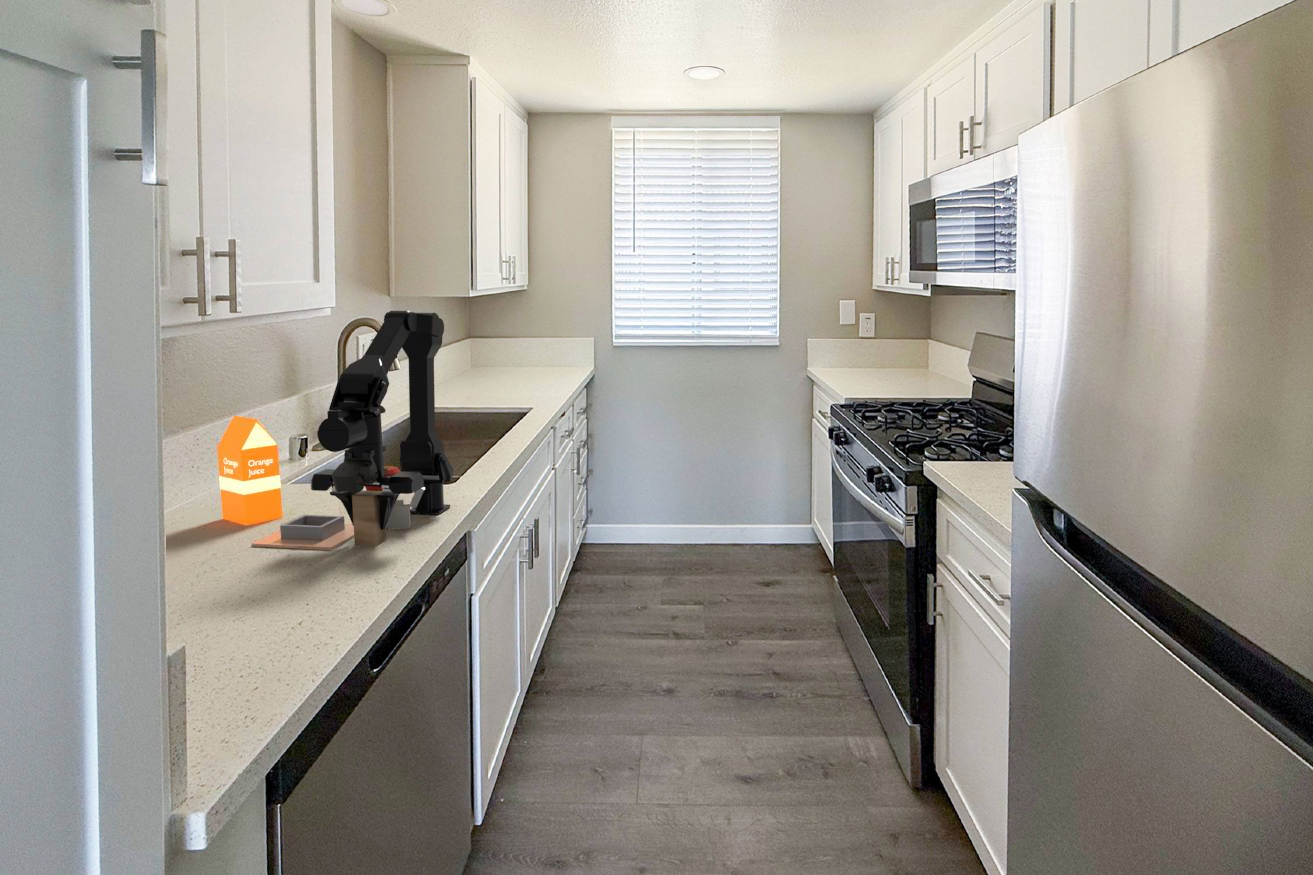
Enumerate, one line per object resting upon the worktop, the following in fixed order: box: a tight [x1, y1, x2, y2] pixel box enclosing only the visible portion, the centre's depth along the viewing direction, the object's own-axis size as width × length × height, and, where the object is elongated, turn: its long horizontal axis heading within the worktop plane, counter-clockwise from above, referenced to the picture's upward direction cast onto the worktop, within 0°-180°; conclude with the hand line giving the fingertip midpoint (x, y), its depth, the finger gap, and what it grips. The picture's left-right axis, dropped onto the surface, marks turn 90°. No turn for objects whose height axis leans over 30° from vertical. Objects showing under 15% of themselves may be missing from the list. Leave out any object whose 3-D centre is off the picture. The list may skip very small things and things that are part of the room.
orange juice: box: [216, 415, 283, 526], centre depth 183 cm, size 8×9×20 cm
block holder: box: [251, 514, 354, 551], centre depth 170 cm, size 15×15×3 cm
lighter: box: [386, 487, 425, 530], centre depth 176 cm, size 7×2×8 cm, turn 99°
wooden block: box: [352, 489, 387, 547], centre depth 166 cm, size 4×4×9 cm
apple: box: [364, 465, 402, 491], centre depth 198 cm, size 8×8×8 cm
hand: (369, 528), depth 166 cm, fingers open, 5 cm apart
